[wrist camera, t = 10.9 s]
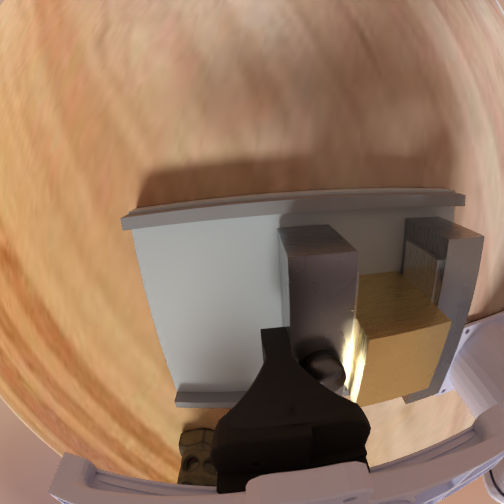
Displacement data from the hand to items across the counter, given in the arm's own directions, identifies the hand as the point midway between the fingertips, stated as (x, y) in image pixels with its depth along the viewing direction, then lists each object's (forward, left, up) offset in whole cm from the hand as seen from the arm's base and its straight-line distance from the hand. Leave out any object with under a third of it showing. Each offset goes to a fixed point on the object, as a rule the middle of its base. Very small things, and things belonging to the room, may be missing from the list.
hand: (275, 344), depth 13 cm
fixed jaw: (-9, 0, -4) cm, 9 cm away
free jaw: (-2, 0, -2) cm, 3 cm away
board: (-2, 0, -4) cm, 4 cm away
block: (-5, 0, -3) cm, 6 cm away
